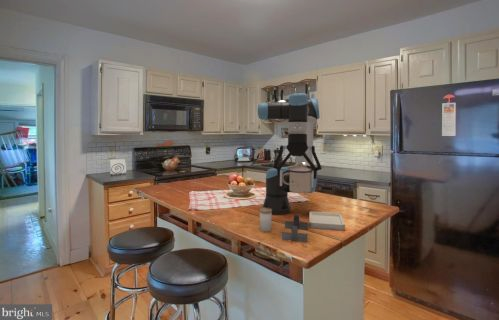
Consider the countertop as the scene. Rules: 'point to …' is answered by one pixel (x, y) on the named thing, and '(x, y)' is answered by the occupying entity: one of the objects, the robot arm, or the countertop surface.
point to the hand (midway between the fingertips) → (296, 186)
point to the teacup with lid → (299, 179)
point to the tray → (326, 221)
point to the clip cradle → (295, 230)
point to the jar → (265, 219)
